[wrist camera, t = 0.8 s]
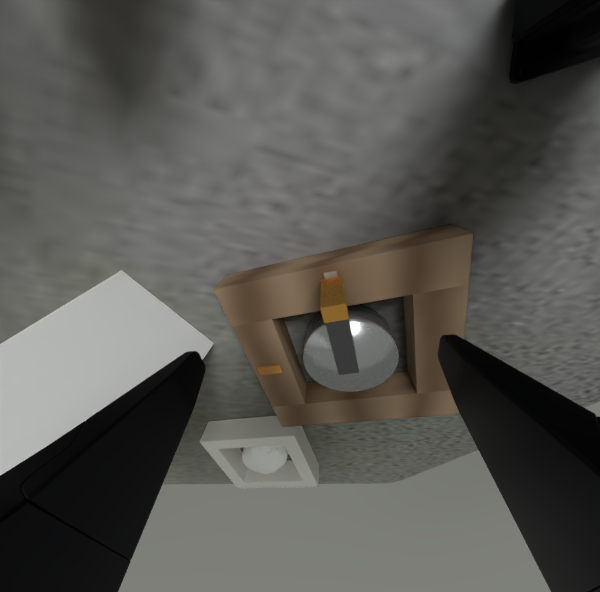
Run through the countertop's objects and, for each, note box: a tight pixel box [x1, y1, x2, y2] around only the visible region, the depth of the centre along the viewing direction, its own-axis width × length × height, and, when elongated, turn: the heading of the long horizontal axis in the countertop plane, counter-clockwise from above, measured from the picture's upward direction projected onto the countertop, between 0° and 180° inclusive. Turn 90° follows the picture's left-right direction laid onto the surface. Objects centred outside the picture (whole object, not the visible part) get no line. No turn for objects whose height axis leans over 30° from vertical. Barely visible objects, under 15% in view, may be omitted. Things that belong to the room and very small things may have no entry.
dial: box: [303, 276, 399, 392], centre depth 20 cm, size 14×9×7 cm, turn 15°
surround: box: [214, 224, 473, 427], centre depth 23 cm, size 20×20×3 cm
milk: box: [0, 270, 214, 475], centre depth 16 cm, size 12×12×26 cm
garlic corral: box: [200, 416, 319, 488], centre depth 35 cm, size 14×14×3 cm
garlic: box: [242, 445, 289, 474], centre depth 35 cm, size 8×7×4 cm
